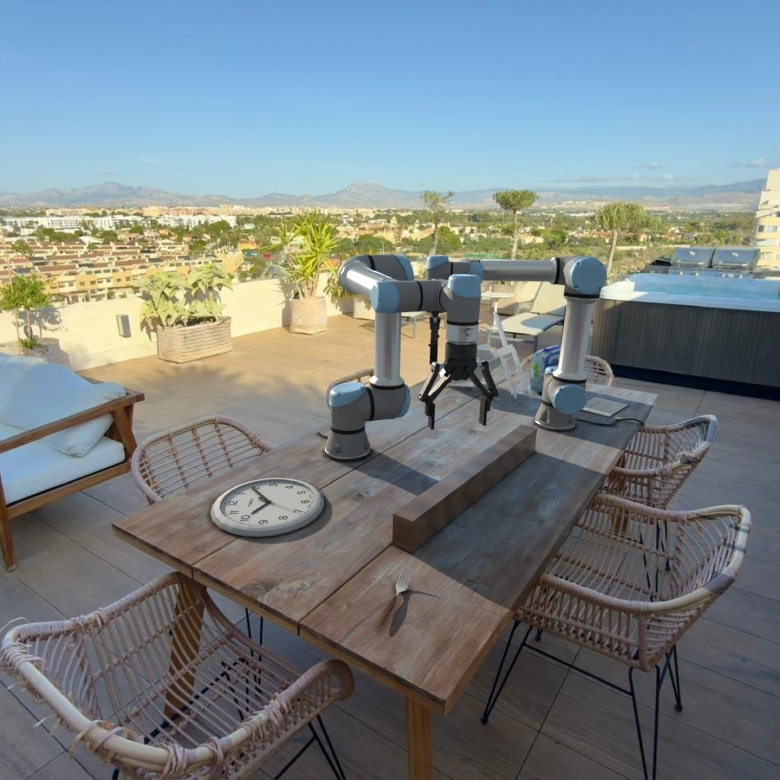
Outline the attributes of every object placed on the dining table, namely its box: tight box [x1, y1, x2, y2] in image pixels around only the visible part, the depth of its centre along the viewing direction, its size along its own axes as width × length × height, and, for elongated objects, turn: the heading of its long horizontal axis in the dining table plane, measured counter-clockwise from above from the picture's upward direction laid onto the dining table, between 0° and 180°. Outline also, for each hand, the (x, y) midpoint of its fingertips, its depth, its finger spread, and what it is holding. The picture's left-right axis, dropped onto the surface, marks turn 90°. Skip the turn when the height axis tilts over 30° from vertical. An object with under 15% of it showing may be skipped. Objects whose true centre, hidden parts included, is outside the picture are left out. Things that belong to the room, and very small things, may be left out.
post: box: [391, 424, 538, 553], centre depth 152 cm, size 75×6×8 cm, turn 143°
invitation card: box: [581, 396, 629, 418], centre depth 226 cm, size 21×1×15 cm
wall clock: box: [210, 477, 325, 538], centre depth 142 cm, size 30×2×30 cm
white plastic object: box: [439, 310, 531, 400], centre depth 245 cm, size 37×45×31 cm
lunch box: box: [529, 345, 561, 394], centre depth 245 cm, size 26×11×21 cm, turn 134°
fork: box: [379, 570, 413, 627], centre depth 106 cm, size 3×16×2 cm, turn 160°
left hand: (457, 425), depth 129 cm, fingers open, 13 cm apart
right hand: (433, 359), depth 189 cm, fingers open, 13 cm apart
